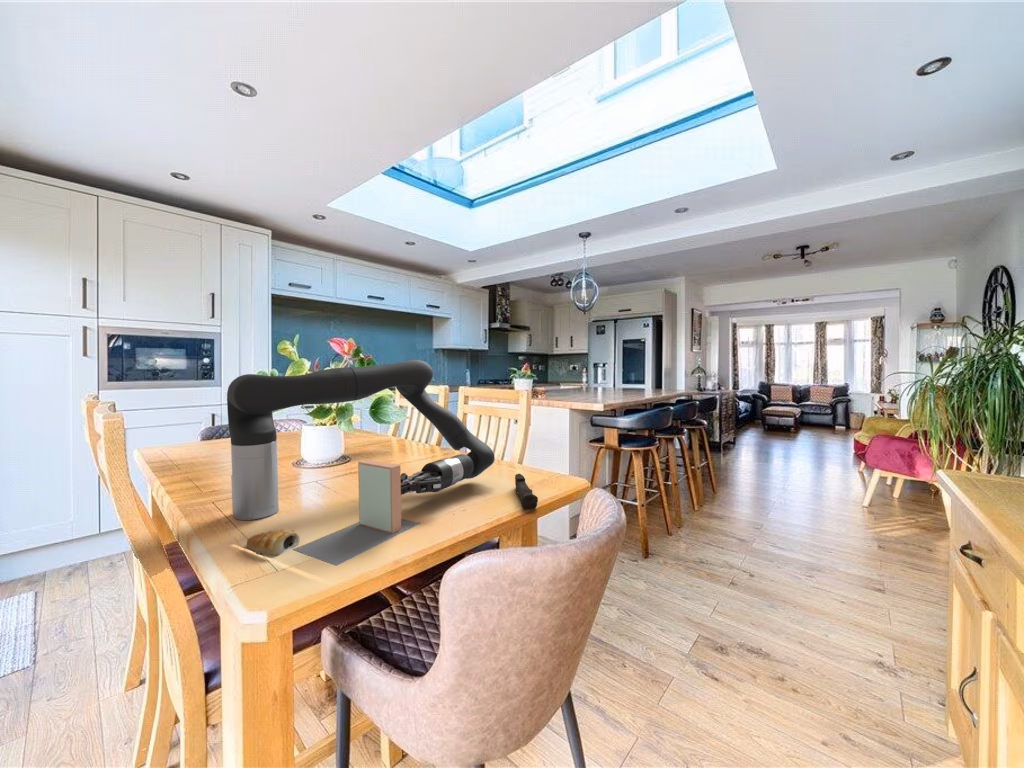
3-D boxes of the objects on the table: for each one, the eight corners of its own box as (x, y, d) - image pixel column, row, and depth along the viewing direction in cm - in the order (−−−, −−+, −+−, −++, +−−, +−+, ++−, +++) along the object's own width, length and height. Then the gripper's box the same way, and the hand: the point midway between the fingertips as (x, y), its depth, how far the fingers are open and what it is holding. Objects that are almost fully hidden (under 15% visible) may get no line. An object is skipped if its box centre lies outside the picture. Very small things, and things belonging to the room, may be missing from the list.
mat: (292, 551, 79) (292, 549, 79) (380, 514, 99) (380, 512, 99) (336, 567, 73) (336, 565, 73) (420, 524, 93) (420, 523, 93)
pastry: (236, 554, 79) (235, 534, 79) (265, 539, 85) (264, 521, 85) (278, 559, 77) (278, 539, 76) (304, 544, 83) (303, 525, 83)
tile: (358, 524, 92) (357, 462, 91) (368, 520, 94) (367, 459, 93) (391, 533, 87) (390, 467, 86) (401, 529, 89) (400, 465, 88)
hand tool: (538, 510, 103) (538, 492, 102) (521, 511, 102) (522, 492, 102) (526, 487, 121) (527, 471, 121) (513, 487, 121) (513, 472, 121)
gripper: (423, 456, 112) (373, 471, 97) (463, 462, 106) (416, 479, 91) (423, 484, 113) (373, 502, 97) (463, 491, 106) (416, 513, 91)
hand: (394, 491), depth 94 cm, fingers closed
